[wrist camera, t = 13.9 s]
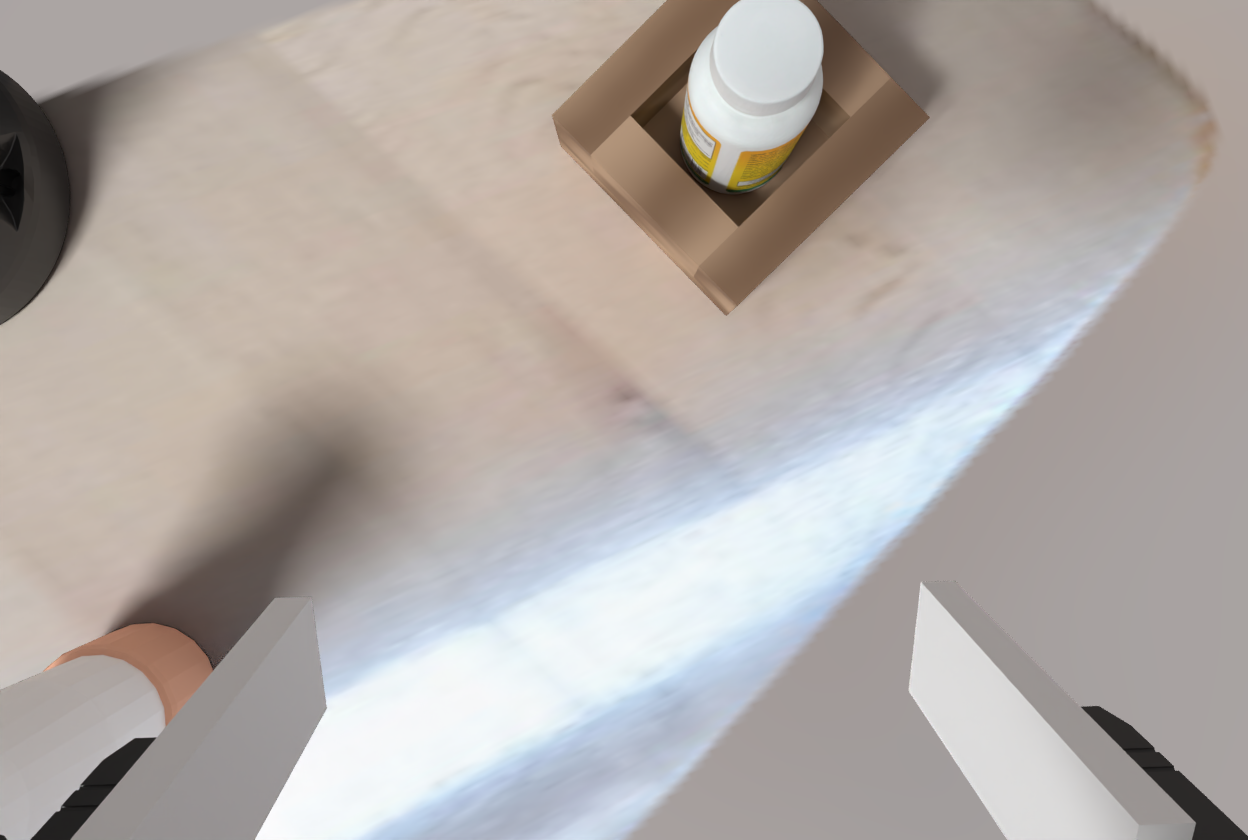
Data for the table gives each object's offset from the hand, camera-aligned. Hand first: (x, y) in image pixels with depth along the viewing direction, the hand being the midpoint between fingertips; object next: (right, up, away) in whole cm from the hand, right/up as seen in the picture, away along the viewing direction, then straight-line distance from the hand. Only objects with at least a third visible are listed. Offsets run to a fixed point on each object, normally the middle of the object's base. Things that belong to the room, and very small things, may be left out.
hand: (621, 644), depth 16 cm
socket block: (+5, +19, +21) cm, 29 cm away
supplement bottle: (+6, +18, +20) cm, 28 cm away
